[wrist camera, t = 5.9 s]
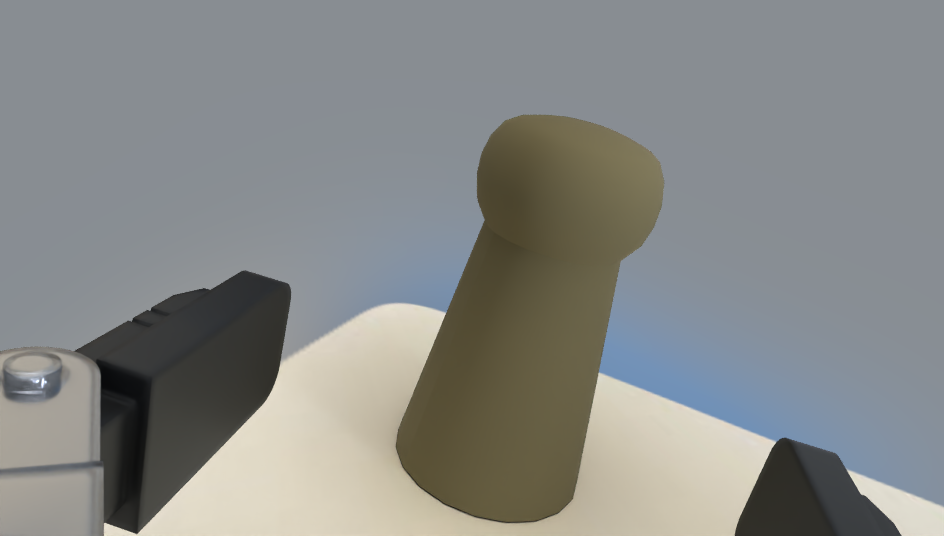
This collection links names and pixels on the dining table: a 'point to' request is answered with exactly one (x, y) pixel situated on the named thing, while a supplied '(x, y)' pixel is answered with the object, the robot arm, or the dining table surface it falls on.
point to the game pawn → (529, 318)
